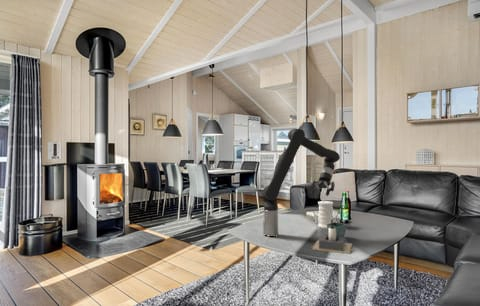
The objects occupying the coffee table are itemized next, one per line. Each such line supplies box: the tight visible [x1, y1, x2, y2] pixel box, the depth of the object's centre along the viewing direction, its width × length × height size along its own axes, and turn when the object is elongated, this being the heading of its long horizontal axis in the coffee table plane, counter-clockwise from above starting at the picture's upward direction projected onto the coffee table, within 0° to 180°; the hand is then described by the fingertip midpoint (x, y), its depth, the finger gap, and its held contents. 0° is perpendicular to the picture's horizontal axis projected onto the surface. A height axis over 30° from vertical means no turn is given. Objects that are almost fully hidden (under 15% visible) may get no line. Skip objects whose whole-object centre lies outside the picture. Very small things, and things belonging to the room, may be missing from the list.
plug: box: [327, 220, 336, 241], centre depth 173 cm, size 4×4×15 cm
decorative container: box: [317, 200, 334, 229], centre depth 222 cm, size 12×12×18 cm
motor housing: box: [311, 234, 353, 255], centre depth 172 cm, size 20×16×5 cm
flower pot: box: [326, 221, 347, 237], centre depth 191 cm, size 9×9×9 cm
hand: (320, 194), depth 190 cm, fingers open, 8 cm apart
